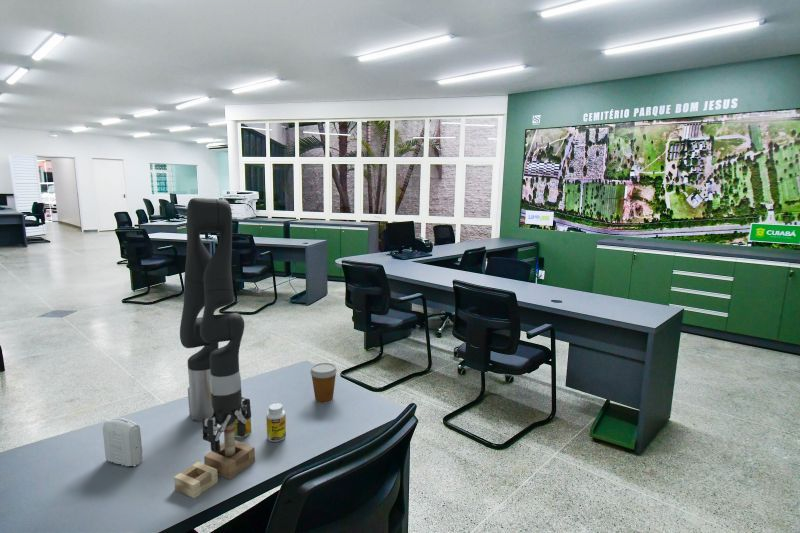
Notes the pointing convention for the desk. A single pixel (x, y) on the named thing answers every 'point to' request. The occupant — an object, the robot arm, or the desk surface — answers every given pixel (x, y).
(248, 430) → the supplement bottle
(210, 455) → the brown wooden square frame
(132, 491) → the desk surface
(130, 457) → the photo printer
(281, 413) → the supplement bottle
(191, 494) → the light wood hollow block
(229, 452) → the wooden peg
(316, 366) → the disposable coffee cup
